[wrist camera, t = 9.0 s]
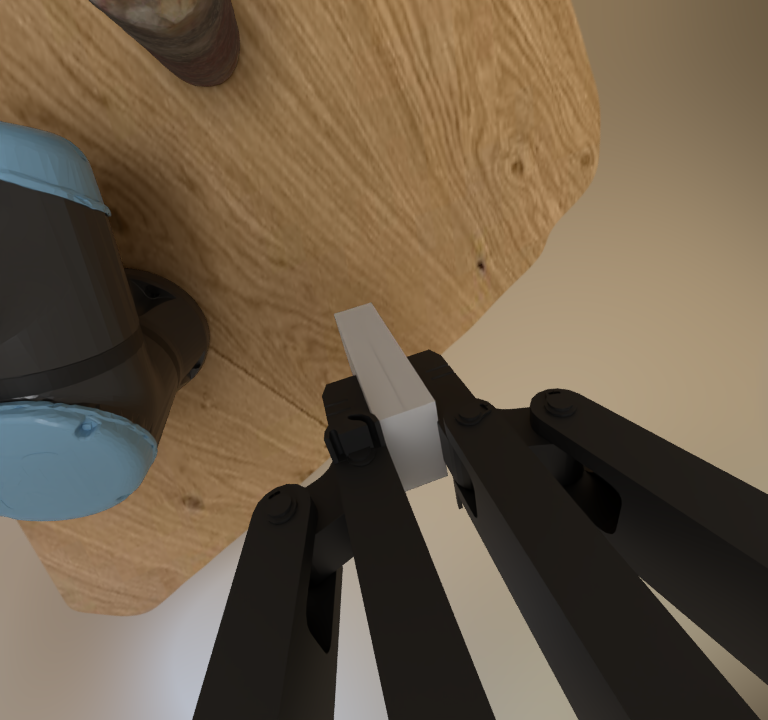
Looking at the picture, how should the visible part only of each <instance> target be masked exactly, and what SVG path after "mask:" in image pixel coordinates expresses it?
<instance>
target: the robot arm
mask: <svg viewBox="0 0 768 720" xmlns="http://www.w3.org/2000/svg"><path fill="white" fill-rule="evenodd" d="M108 216H111V212H110V210H109V208H108V207H107V206H106V205H104V202H103V199H102V196H101V194H100V191H99V188H98V185H97V182H96V179H95V177H94V174H93V171H92V168H91V165H90V163H89V161H88V160H87V158H86V156H85V155H84V154H83V152H82V151H81V150H80V149H79V148H78V147H76V146H75V145H74V144H72V143H71V142H70V141H68V140H67V139H65V138H63V137H61V136H59V135H56V134H54V133H51V132H47V131H43V130H39V129H35V128H31V127H26V126H21V125H17V124H12V123H7V122H2V121H0V516H4V517H9V518H13V519H17V520H26V521H59V520H68V519H75V518H80V517H85V516H89V515H93V514H96V513H99V512H101V511H104V510H107V509H109V508H111V507H113V506H115V505H117V504H119V503H120V502H122V501H123V500H125V499H126V498H127V497H128V496H129V495H130V494H132V493H133V491H135V490H136V489H137V488H138V487H139V485H140V484H141V483H142V481H143V479H144V477H145V476H146V474H147V472H148V470H149V468H150V466H151V464H152V463H153V462H154V460H155V458H156V456H157V452H158V450H157V447H158V444H159V441H160V438H161V436H162V433H163V430H164V427H165V424H166V421H167V418H168V415H169V412H170V409H171V406H172V403H173V400H174V397H175V394H176V392H177V391H178V390H179V389H181V388H182V387H183V386H184V385H186V384H187V383H188V382H189V381H191V380H192V379H193V378H194V377H195V376H196V374H197V373H198V372H199V370H200V369H201V367H202V365H203V363H204V361H205V358H206V355H207V351H208V348H209V340H210V335H209V328H208V324H207V321H206V318H205V316H204V314H203V312H202V310H201V309H200V307H199V306H198V304H197V303H196V302H195V301H194V300H193V299H192V297H191V296H190V295H189V294H187V293H186V292H185V291H184V290H183V289H181V288H180V287H179V286H177V285H176V284H174V283H172V282H171V281H169V280H167V279H165V278H163V277H160V276H158V275H155V274H152V273H149V272H145V271H141V270H135V269H124V268H123V265H122V261H121V258H120V255H119V251H118V248H117V245H116V242H115V238H114V235H113V232H112V228H111V225H110V222H109V218H108ZM334 316H335V320H336V323H337V326H338V329H339V332H340V336H341V339H342V342H343V345H344V349H345V352H346V355H347V358H348V361H349V365H350V368H351V371H352V374H353V376H351V377H348V378H345V379H342V380H339V381H336V382H333V383H330V384H327V385H326V387H325V390H324V392H323V395H322V398H323V403H324V407H325V412H326V416H327V421H328V427H327V429H326V430H325V433H324V441H325V444H326V446H327V448H328V451H329V453H330V456H331V458H332V460H333V461H332V463H331V465H330V467H329V469H328V470H327V471H326V472H325V473H324V474H323V475H322V476H321V477H320V478H319V479H318V480H316V481H315V482H313V483H312V484H310V485H309V486H307V487H306V488H305V487H302V486H300V485H298V484H286V485H283V486H280V487H276V488H275V489H273V490H272V491H270V492H269V493H267V494H266V495H265V496H264V497H263V498H262V499H261V500H260V501H259V502H258V504H257V506H256V508H255V510H254V512H253V514H252V518H251V521H250V524H249V528H248V531H247V535H246V538H245V542H244V545H243V548H242V552H241V555H240V559H239V562H238V566H237V569H236V572H235V576H234V579H233V582H232V586H231V589H230V593H229V596H228V600H227V603H226V606H225V610H224V613H223V617H222V620H221V623H220V627H219V631H218V634H217V637H216V640H215V644H214V647H213V651H212V654H211V658H210V661H209V664H208V668H207V671H206V675H205V678H204V682H203V685H202V688H201V692H200V695H199V698H198V702H197V705H196V709H195V712H194V716H193V719H192V720H334V707H335V690H336V673H337V656H338V637H339V623H340V622H339V621H340V606H341V605H340V604H341V589H342V588H341V587H342V572H343V566H342V565H344V564H345V563H346V562H347V561H349V560H350V559H351V558H352V557H354V560H355V565H356V569H357V574H358V579H359V584H360V588H361V593H362V597H363V602H364V607H365V612H366V616H367V621H368V625H369V630H370V635H371V640H372V644H373V649H374V654H375V658H376V663H377V667H378V672H379V677H380V682H381V687H382V691H383V696H384V701H385V705H386V710H387V714H388V719H389V720H496V719H495V716H494V714H493V712H492V709H491V706H490V704H489V701H488V699H487V696H486V694H485V691H484V689H483V687H482V684H481V681H480V679H479V676H478V674H477V671H476V669H475V666H474V664H473V661H472V659H471V656H470V654H469V651H468V649H467V646H466V644H465V641H464V639H463V636H462V634H461V631H460V629H459V626H458V624H457V621H456V619H455V617H454V614H453V611H452V609H451V606H450V603H449V601H448V599H447V596H446V594H445V591H444V588H443V586H442V583H441V581H440V578H439V576H438V574H437V571H436V569H435V566H434V564H433V561H432V559H431V556H430V553H429V551H428V548H427V546H426V543H425V541H424V538H423V536H422V533H421V531H420V528H419V526H418V523H417V521H416V518H415V516H414V513H413V511H412V508H411V506H410V503H409V501H408V498H407V496H406V493H405V492H406V491H408V490H411V489H414V488H416V487H419V486H422V485H424V484H427V483H430V482H432V481H435V480H438V479H440V478H443V477H446V476H448V473H447V468H446V465H447V467H448V469H449V470H450V472H451V474H452V476H453V479H454V487H455V492H456V499H457V504H458V507H459V509H461V508H463V506H462V503H463V505H464V507H465V509H466V511H467V513H468V515H469V517H470V518H471V520H472V522H473V524H474V526H475V528H476V530H477V531H478V533H479V535H480V537H481V539H482V541H483V543H484V544H485V546H486V548H487V550H488V552H489V554H490V556H491V557H492V559H493V561H494V563H495V565H496V567H497V569H498V571H499V572H500V574H501V576H502V578H503V580H504V582H505V584H506V585H507V587H508V589H509V591H510V593H511V595H512V597H513V599H514V600H515V602H516V604H517V606H518V608H519V610H520V612H521V613H522V615H523V617H524V619H525V621H526V623H527V624H528V626H529V628H530V630H531V632H532V634H533V636H534V638H535V639H536V641H537V643H538V645H539V647H540V649H541V651H542V653H543V654H544V656H545V658H546V660H547V662H548V664H549V666H550V667H551V669H552V671H553V673H554V675H555V677H556V678H557V680H558V682H559V684H560V686H561V688H562V690H563V692H564V694H565V695H566V697H567V699H568V701H569V703H570V705H571V706H572V708H573V710H574V712H575V714H576V716H577V718H578V719H579V720H760V719H759V717H758V716H757V715H756V714H755V713H754V712H753V710H752V709H751V708H750V707H749V706H748V704H747V703H746V702H745V701H744V700H743V699H742V697H741V696H740V695H739V694H738V693H737V692H736V690H735V689H734V688H733V687H732V686H731V684H730V683H729V682H728V681H727V680H726V679H725V678H724V676H723V675H722V674H721V673H720V671H719V670H718V669H717V668H716V667H715V666H714V664H713V663H712V662H711V661H710V660H709V659H708V657H707V656H706V655H705V654H704V653H703V652H702V650H701V649H700V648H699V647H698V646H697V645H696V643H695V642H694V641H693V640H692V639H691V637H690V636H689V635H688V634H687V633H686V632H685V630H684V629H683V628H682V627H681V626H680V625H679V623H678V622H677V621H676V620H675V619H674V617H673V616H672V615H671V614H670V613H669V612H668V610H667V609H666V608H665V607H664V606H663V605H662V603H661V602H660V601H659V600H658V599H657V598H656V596H655V595H654V594H653V593H652V592H651V590H650V589H649V588H648V587H647V586H646V584H645V583H644V582H643V581H642V580H641V579H640V577H641V578H642V579H643V580H644V581H645V582H647V583H648V584H649V585H650V586H651V587H652V588H654V589H655V590H656V591H657V592H658V593H659V594H661V595H662V596H663V597H664V598H665V599H666V600H668V601H669V602H670V603H671V604H672V605H674V606H675V607H676V608H677V609H678V610H680V611H681V612H682V613H683V614H684V615H686V616H687V617H688V618H689V619H690V620H691V621H692V622H694V623H695V624H696V625H697V626H698V627H700V628H701V629H702V630H703V631H704V632H706V633H707V634H708V635H709V636H710V637H711V638H713V639H714V640H715V641H716V642H717V643H719V644H720V645H721V646H722V647H723V648H725V649H726V650H727V651H728V652H729V653H730V654H732V655H733V656H734V657H735V658H736V659H737V660H739V661H740V662H741V663H742V664H743V665H745V666H746V667H747V668H748V669H749V670H750V671H752V672H753V673H754V674H756V676H758V677H759V678H760V679H761V680H763V682H765V683H766V684H767V685H768V494H766V493H764V492H762V491H760V490H759V489H757V488H755V487H753V486H751V485H749V484H747V483H745V482H744V481H742V480H740V479H738V478H736V477H734V476H732V475H730V474H729V473H727V472H725V471H723V470H721V469H719V468H717V467H715V466H714V465H712V464H710V463H708V462H706V461H704V460H702V459H700V458H699V457H697V456H695V455H693V454H691V453H689V452H687V451H685V450H684V449H682V448H680V447H678V446H676V445H674V444H672V443H670V442H668V441H667V440H665V439H663V438H661V437H659V436H657V435H655V434H654V433H652V432H650V431H648V430H646V429H644V428H642V427H640V426H639V425H637V424H635V423H633V422H631V421H629V420H627V419H625V418H624V417H622V416H620V415H618V414H616V413H614V412H612V411H610V410H609V409H607V408H605V407H603V406H601V405H599V404H597V403H595V402H594V401H592V400H590V399H587V398H586V397H584V396H582V395H580V394H578V393H576V392H573V391H570V390H565V389H558V388H557V389H547V390H544V391H542V392H539V393H538V394H536V395H535V396H534V397H533V398H532V400H531V403H530V407H527V408H517V409H496V408H495V407H494V406H493V405H491V404H490V403H489V402H487V401H484V400H481V399H477V398H475V397H474V396H473V394H472V393H471V392H470V391H469V389H468V388H467V387H466V386H465V384H464V383H463V382H462V381H461V379H460V378H459V377H458V376H457V375H456V373H454V371H453V370H452V368H451V367H450V366H448V363H447V362H446V361H445V360H444V359H443V357H442V356H441V355H439V354H437V353H435V352H433V351H431V350H426V351H423V352H420V353H417V354H414V355H411V356H408V357H406V356H405V354H404V352H403V351H402V349H401V348H400V346H399V345H398V343H397V342H396V340H395V339H394V337H393V335H392V334H391V332H390V331H389V329H388V328H387V326H386V325H385V323H384V322H383V320H382V318H381V317H380V315H379V314H378V312H377V311H376V309H375V308H374V306H373V305H372V303H368V304H365V305H361V306H358V307H355V308H352V309H348V310H345V311H342V312H339V313H336V314H334Z"/></svg>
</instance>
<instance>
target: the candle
mask: <svg viewBox="0 0 768 720" xmlns="http://www.w3.org/2000/svg"><path fill="white" fill-rule="evenodd" d="M89 1H90V2H91V3H92V4H93V5H94V6H96V7H97V8H98V9H99V10H101V11H102V12H104V13H105V14H106V15H107V16H108V17H109V18H110V19H112V20H113V21H114V22H115V23H116V24H118V25H119V26H120V27H121V28H122V29H123V30H124V31H125V32H127V33H128V34H129V35H130V36H131V37H133V38H134V39H135V40H136V41H137V42H138V43H139V44H141V45H142V46H143V47H144V48H146V49H147V50H148V51H149V52H150V53H151V54H152V55H153V56H154V57H155V58H156V59H158V60H159V61H160V62H161V63H162V64H163V65H164V66H165V67H166V68H168V69H169V70H170V71H171V72H172V73H174V74H175V75H176V76H178V77H179V78H180V79H182V80H183V81H185V82H188V83H190V84H192V85H195V86H213V85H218V84H221V83H222V82H224V81H225V80H226V79H227V78H229V77H230V76H231V74H232V73H233V71H234V69H235V67H236V65H237V62H238V57H239V51H240V39H239V31H238V26H237V22H236V19H235V15H234V10H233V7H232V3H231V0H89Z"/></svg>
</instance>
